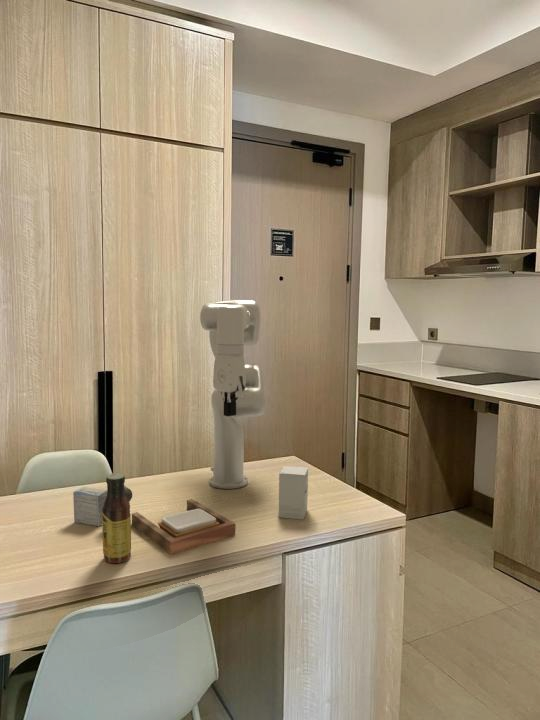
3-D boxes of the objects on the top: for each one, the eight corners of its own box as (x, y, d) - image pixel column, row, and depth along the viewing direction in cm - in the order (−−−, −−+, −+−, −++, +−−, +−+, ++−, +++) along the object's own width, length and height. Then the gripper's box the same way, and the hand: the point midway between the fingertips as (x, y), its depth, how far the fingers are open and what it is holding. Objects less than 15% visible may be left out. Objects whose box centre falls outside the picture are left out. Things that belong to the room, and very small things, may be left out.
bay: (110, 524, 145) (109, 485, 144) (186, 505, 160) (186, 469, 158) (153, 560, 126) (152, 515, 125) (235, 534, 140) (235, 494, 139)
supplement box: (304, 520, 150) (305, 475, 149) (277, 517, 152) (278, 473, 150) (308, 510, 158) (308, 467, 156) (282, 507, 159) (283, 465, 158)
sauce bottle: (106, 552, 130) (104, 470, 128) (133, 551, 130) (132, 470, 128) (100, 566, 123) (98, 480, 121) (128, 565, 124) (127, 479, 122)
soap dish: (176, 550, 132) (176, 530, 131) (157, 536, 139) (157, 517, 139) (220, 537, 140) (220, 517, 139) (199, 524, 147) (199, 506, 147)
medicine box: (108, 521, 148) (108, 489, 147) (98, 527, 144) (97, 495, 143) (84, 516, 151) (83, 486, 150) (73, 523, 146) (72, 491, 146)
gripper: (204, 349, 156) (204, 412, 159) (234, 353, 145) (234, 422, 147) (226, 347, 161) (226, 409, 163) (257, 352, 150) (256, 418, 152)
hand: (229, 415), depth 155 cm, fingers closed
